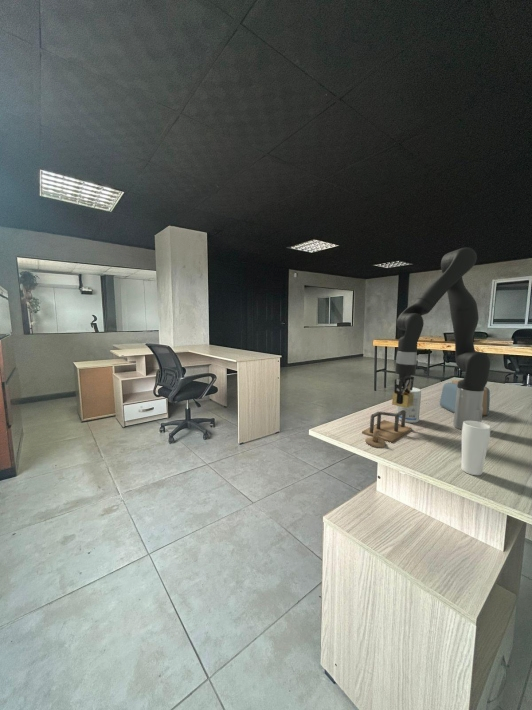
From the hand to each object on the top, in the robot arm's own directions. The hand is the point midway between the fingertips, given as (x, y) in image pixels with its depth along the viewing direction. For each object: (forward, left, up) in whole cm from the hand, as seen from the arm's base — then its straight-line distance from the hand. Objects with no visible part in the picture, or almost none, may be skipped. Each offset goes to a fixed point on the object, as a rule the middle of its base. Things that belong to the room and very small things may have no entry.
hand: (402, 402), depth 118 cm
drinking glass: (-28, +19, -12) cm, 36 cm away
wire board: (+3, +7, -12) cm, 14 cm away
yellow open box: (0, 0, -1) cm, 1 cm away
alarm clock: (-11, -50, -12) cm, 53 cm away
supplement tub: (+3, -14, -12) cm, 19 cm away
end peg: (+1, +22, -12) cm, 25 cm away
